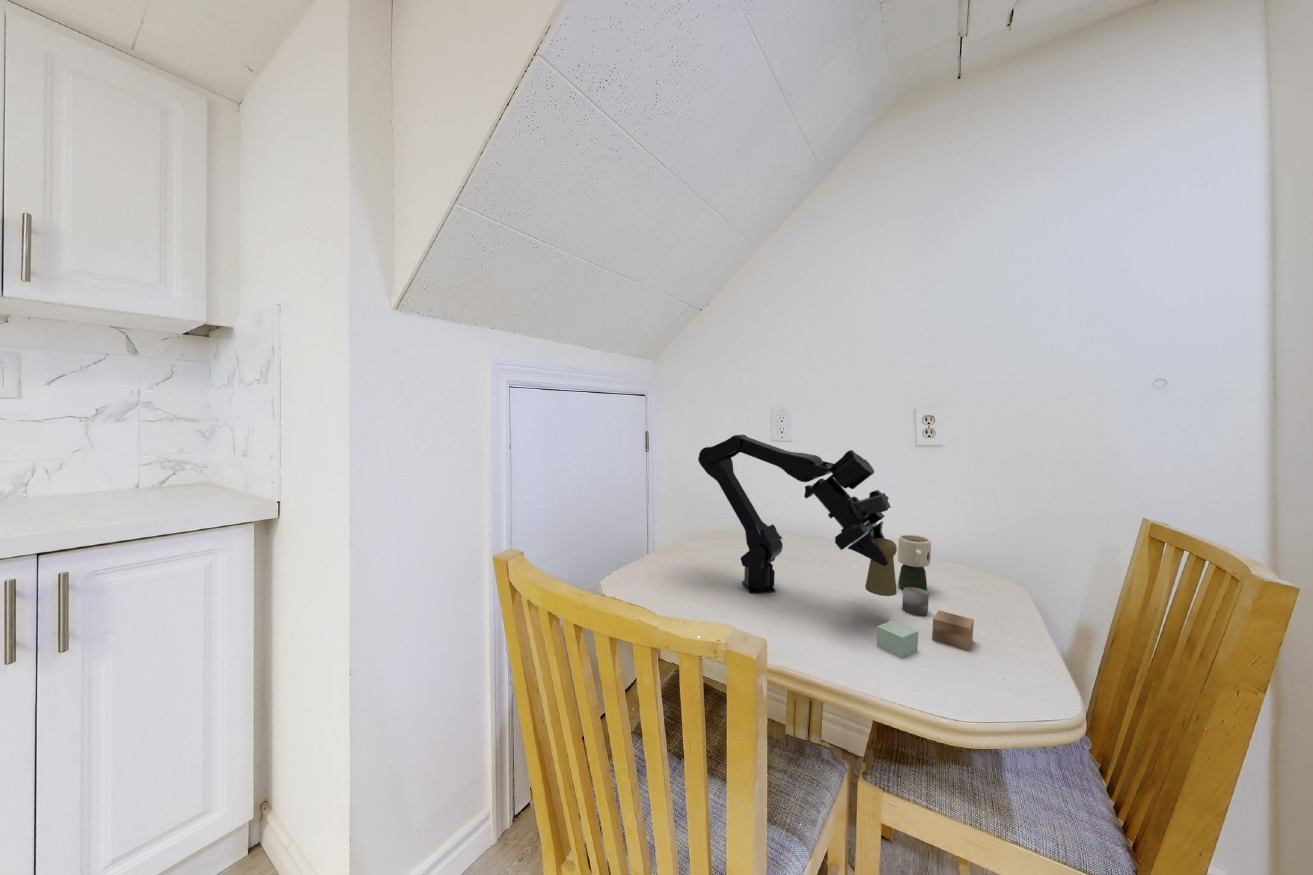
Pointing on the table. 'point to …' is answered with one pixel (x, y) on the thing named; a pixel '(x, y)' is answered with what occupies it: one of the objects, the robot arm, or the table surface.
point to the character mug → (913, 560)
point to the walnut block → (953, 630)
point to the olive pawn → (882, 570)
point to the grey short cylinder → (915, 601)
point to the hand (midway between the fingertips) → (889, 561)
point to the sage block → (897, 638)
